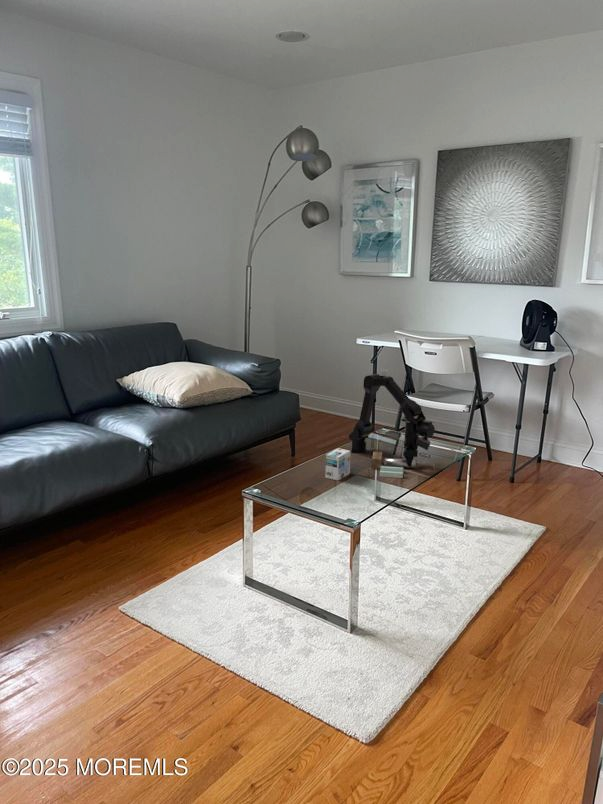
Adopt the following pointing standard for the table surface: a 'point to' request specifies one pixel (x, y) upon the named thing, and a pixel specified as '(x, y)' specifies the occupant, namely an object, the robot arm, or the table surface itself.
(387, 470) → the cradle
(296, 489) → the table surface
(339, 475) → the light bulb box
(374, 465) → the bearing block
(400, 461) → the axle
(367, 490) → the table surface
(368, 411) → the robot arm
